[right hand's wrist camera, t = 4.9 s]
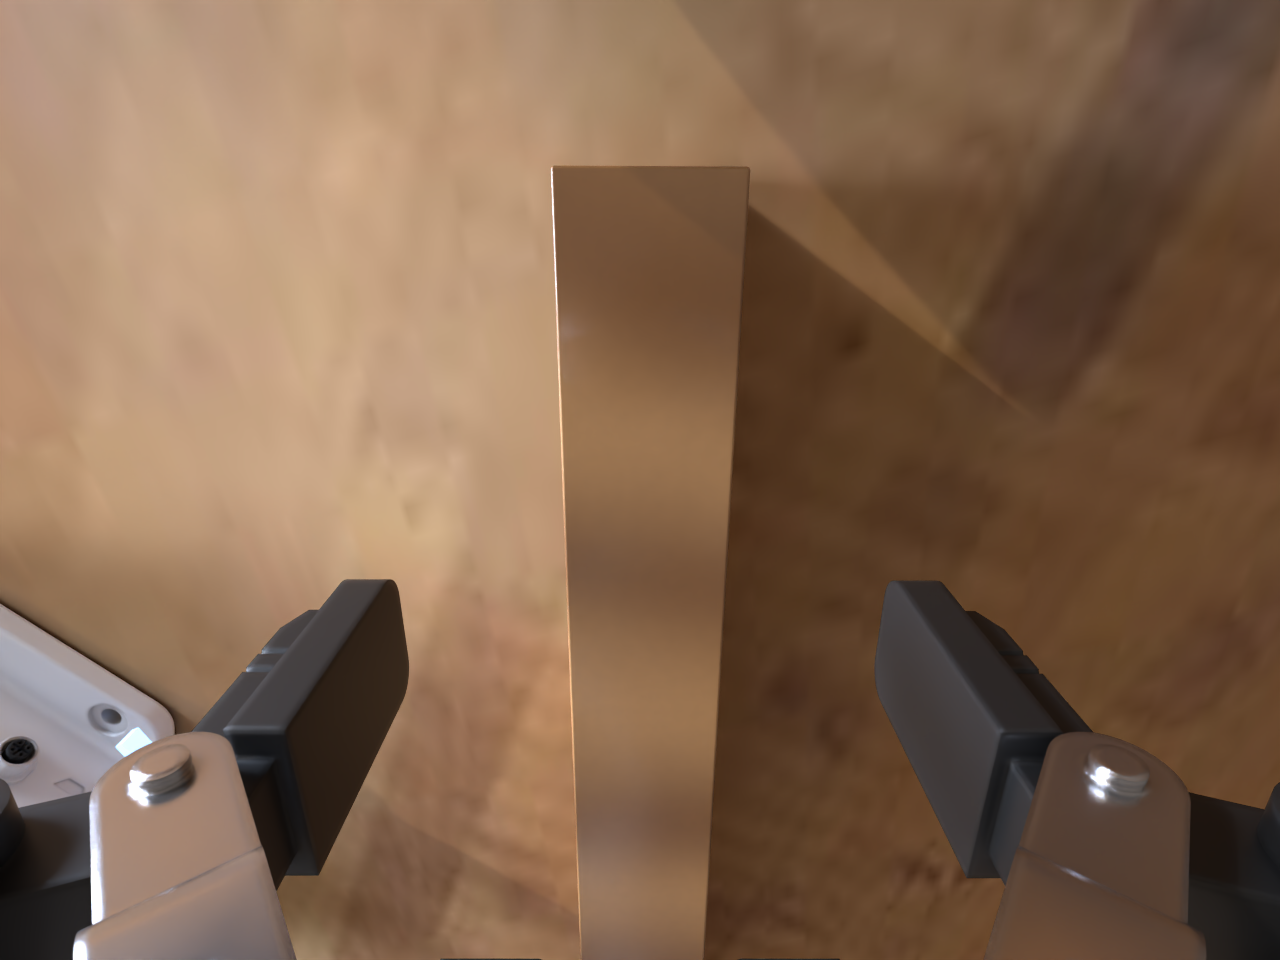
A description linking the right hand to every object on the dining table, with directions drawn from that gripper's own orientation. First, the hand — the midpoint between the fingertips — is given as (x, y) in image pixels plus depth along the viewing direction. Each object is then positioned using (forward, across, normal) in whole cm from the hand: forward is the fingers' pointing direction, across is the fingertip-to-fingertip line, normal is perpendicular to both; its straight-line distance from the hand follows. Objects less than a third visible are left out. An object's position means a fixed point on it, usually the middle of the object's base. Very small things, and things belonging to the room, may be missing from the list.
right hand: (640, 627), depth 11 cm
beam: (+16, 0, +30) cm, 34 cm away
